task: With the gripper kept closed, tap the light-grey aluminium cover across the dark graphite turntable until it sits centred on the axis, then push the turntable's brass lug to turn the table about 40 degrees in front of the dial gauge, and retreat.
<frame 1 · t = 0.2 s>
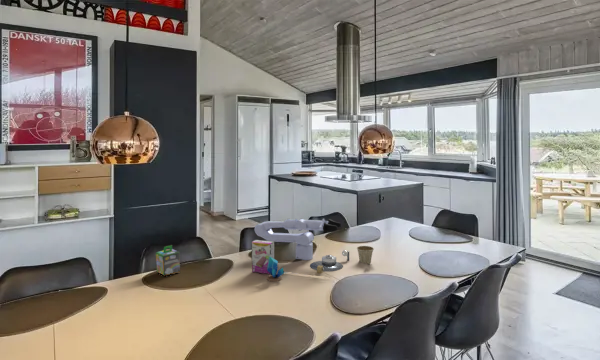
hand: (338, 226, 204), 21 cm above the table, tool horizontal, fingers open, 7 cm apart
gemstone: (274, 279, 183), on the table
cover: (329, 263, 204), point 1 cm above the table, touching turntable
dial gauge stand: (348, 261, 209), on the table
chalk box: (168, 273, 193), on the table
turntable: (325, 264, 198), point 2 cm above the table, hinge at 0.0°, touching cover
candy bar box: (263, 272, 193), on the table
flower pot: (365, 263, 206), on the table
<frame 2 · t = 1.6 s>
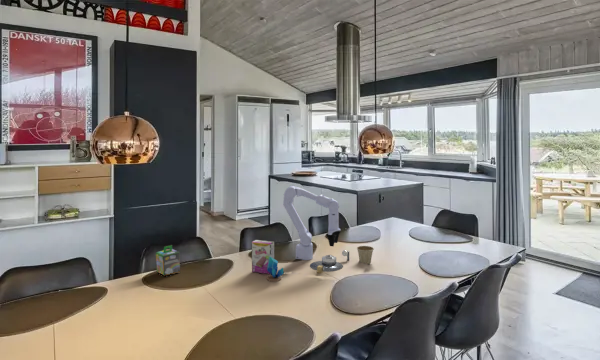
hand: (333, 244, 211), 9 cm above the table, tool pointing down, fingers open, 7 cm apart
nothing on the table moved.
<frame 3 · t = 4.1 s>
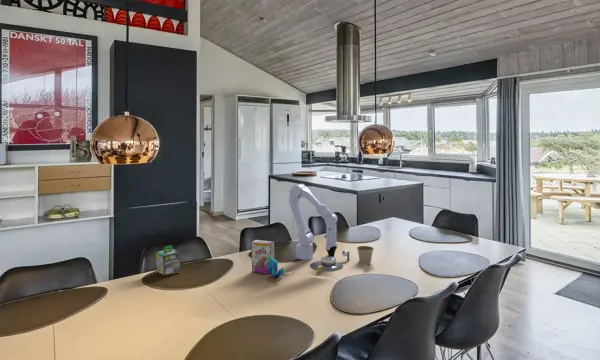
hand: (331, 259, 208), 2 cm above the table, tool pointing down, fingers closed
cover: (328, 263, 203), point 1 cm above the table, touching gripper
turntable: (325, 264, 198), point 2 cm above the table, hinge at 0.0°
everything else where it was.
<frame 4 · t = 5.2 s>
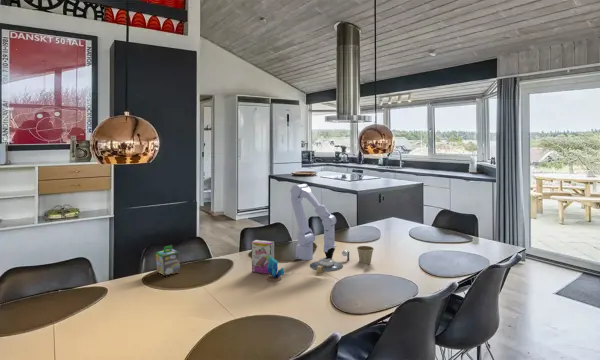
hand: (329, 261, 204), 2 cm above the table, tool pointing down, fingers closed
cover: (326, 265, 199), point 1 cm above the table, touching gripper, turntable
turntable: (325, 264, 198), point 2 cm above the table, hinge at 0.0°, touching cover
everything else where it was.
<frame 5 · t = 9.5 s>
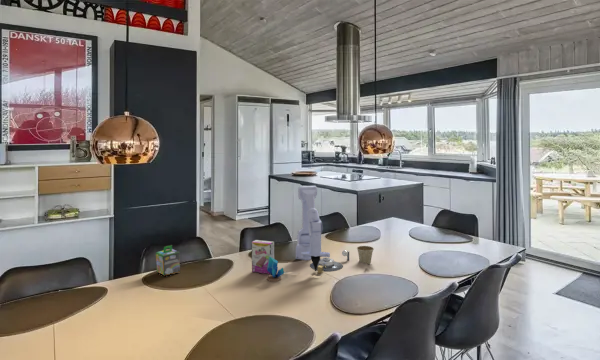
hand: (315, 270, 189), 2 cm above the table, tool pointing down, fingers closed
cover: (326, 265, 199), point 1 cm above the table, touching turntable
turntable: (325, 264, 198), point 2 cm above the table, hinge at 1.1°, touching cover, gripper
everything else where it was.
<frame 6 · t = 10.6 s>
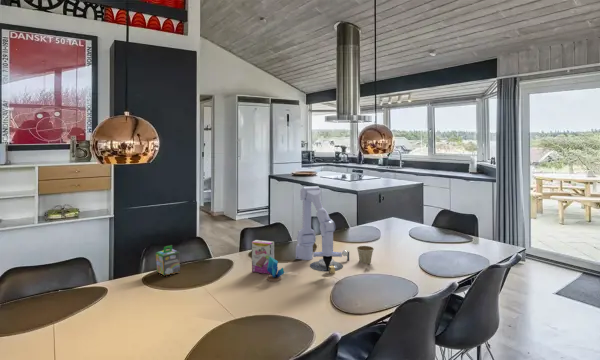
hand: (327, 270, 189), 2 cm above the table, tool pointing down, fingers closed
turntable: (327, 264, 198), point 2 cm above the table, hinge at 33.8°, touching cover, gripper
everything else where it was.
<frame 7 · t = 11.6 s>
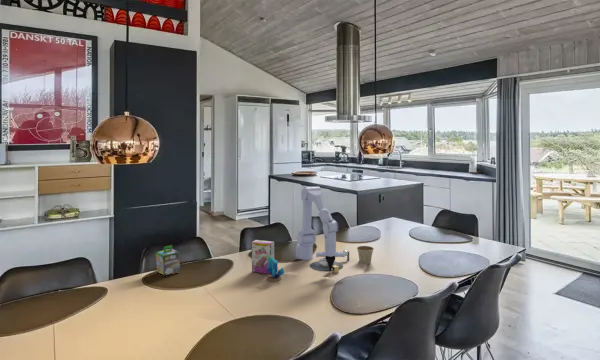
hand: (330, 270, 189), 2 cm above the table, tool pointing down, fingers closed
turntable: (327, 264, 198), point 2 cm above the table, hinge at 44.3°, touching cover, gripper
everything else where it was.
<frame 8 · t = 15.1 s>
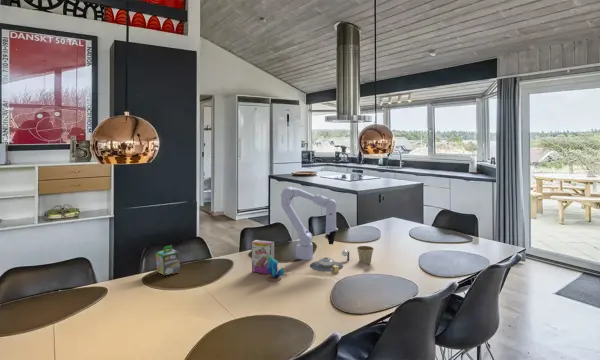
hand: (331, 244, 210), 10 cm above the table, tool pointing down, fingers closed
turntable: (327, 264, 198), point 2 cm above the table, hinge at 44.3°, touching cover
everything else where it was.
at the end: cover 0.1 cm from the turntable (horizontally); turntable at +44° (first picture: +0°); cover tilted 0° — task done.
